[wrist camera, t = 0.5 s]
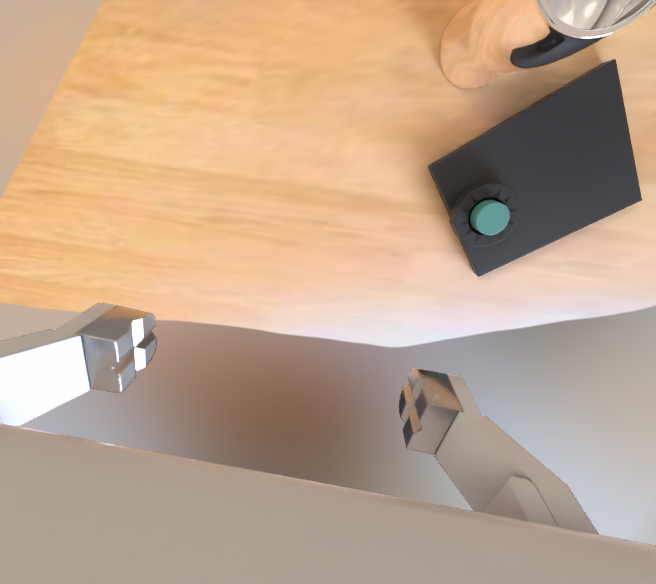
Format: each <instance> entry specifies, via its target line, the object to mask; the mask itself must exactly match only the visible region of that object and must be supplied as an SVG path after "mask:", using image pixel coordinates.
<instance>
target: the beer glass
mask: <svg viewBox="0 0 656 584" xmlns="http://www.w3.org/2000/svg"><path fill="white" fill-rule="evenodd" d="M655 5H656V0H473V1H472V2H470V3H469V4H467V5H466V6H464V7H463V8H462V9H461V10H460V11H458V12H457V13H456V14H455V16H454V17H453V18H452V19H451V21H450V22H449V24H448V26H447V27H446V29H445V32H444V34H443V37H442V41H441V46H440V62H441V67H442V70H443V72H444V74H445V76H446V77H447V79H448V80H449V81H450V82H451V83H452V84H454V85H455V86H457V87H460V88H463V89H476V88H480V87H482V86H485V85H486V84H488V83H490V82H491V81H493V80H494V79H495V78H496V77H497V76H498V75H499V74H500V73H510V72H522V71H527V70H533V69H538V68H541V67H544V66H547V65H550V64H552V63H555V62H558V61H560V60H563V59H565V58H567V57H569V56H571V55H573V54H576V53H578V52H580V51H582V50H583V49H585V48H587V47H589V46H591V45H593V44H595V43H597V42H598V41H600V40H602V39H604V38H605V37H607V36H609V35H611V34H613V33H616V32H618V31H620V30H622V29H624V28H626V27H628V26H629V25H631V24H632V23H634V22H635V21H637V20H638V19H640V18H641V17H642V16H643V15H645V14H646V13H647V12H648V11H649V10H651V9H652V8H653V7H654V6H655Z"/></svg>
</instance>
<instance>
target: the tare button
mask: <svg viewBox="0 0 656 584" xmlns="http://www.w3.org/2000/svg"><path fill="white" fill-rule="evenodd" d="M509 218H510V212H509V210H508V208H507V207H506V205H504V204H502V203H500V202H497V201H494V200H485V201H482V202H480V203H479V204H477V205H476V206H475V207H474V209H473V210H472V212H471V215H470V222H471V225H472V226H473V228H474V229H476V230H477V231H479V232H481V233H482V234H485V235H494V234H497V233H499V232H500V231H502V230H503V229H504V228H505V227H506V226H507V224H508V222H509Z"/></svg>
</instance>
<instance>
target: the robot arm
mask: <svg viewBox="0 0 656 584" xmlns="http://www.w3.org/2000/svg"><path fill="white" fill-rule="evenodd" d="M155 326H156V320H155V316H154V315H153V314H152V313H149V312H144V311H140V310H135V309H131V308H127V307H122V306H117V305H113V304H108V303H97V304H96V305H94V306H92V307H91V308H89V309H88V310H86V311H84V312H83V313H81V314H80V315H78V316H77V317H75V318H73V319H72V320H70V321H69V322H67V323H66V324H64V325H62V326H61V327H59V328H58V329H56V330H51V329H47V330H43V331H39V332H35V333H31V334H27V335H22V336H19V337H14V338H10V339H6V340H2V341H0V584H656V545H652V544H647V543H641V542H635V541H630V540H625V539H619V538H614V537H609V536H604V535H599V533H598V532H597V530H596V529H595V528H594V526H593V524H592V523H591V521H590V519H589V518H588V516H587V515H586V513H585V512H584V510H583V509H582V507H581V505H580V504H579V502H578V501H577V499H576V498H575V496H574V495H573V493H572V492H571V490H570V489H569V487H568V486H567V485H566V484H565V483H564V482H563V481H562V480H560V479H559V478H558V477H557V476H556V475H555V474H554V473H552V472H551V471H550V470H549V469H548V468H546V467H545V466H544V465H543V464H542V463H541V462H539V461H538V460H537V459H536V458H535V457H534V456H532V455H531V454H530V453H529V452H528V451H527V450H525V449H524V448H523V447H522V446H521V445H519V444H518V443H517V442H516V441H515V440H514V439H512V438H511V437H510V436H509V435H508V434H506V433H505V432H504V431H503V430H502V429H501V428H499V427H498V426H497V425H496V424H495V423H494V422H492V421H491V420H490V419H489V418H488V417H485V416H482V415H481V413H480V411H479V409H478V407H477V405H476V403H475V401H474V399H473V397H472V395H471V393H470V391H469V389H468V387H467V385H466V383H465V381H464V379H463V378H462V377H461V376H459V375H453V374H447V373H439V372H434V371H429V370H424V369H419V368H413V369H412V370H411V371H410V373H409V375H408V380H409V384H408V385H407V386H405V387H403V390H402V392H401V395H400V400H399V413H400V417H401V419H402V420H403V421H404V422H405V426H404V428H403V434H404V438H405V443H406V448H407V449H410V450H414V451H418V452H423V453H427V454H432V455H435V456H434V457H435V458H436V460H437V461H438V462H439V464H440V465H441V466H442V468H443V469H444V471H445V472H446V473H447V475H448V476H449V478H450V479H451V480H452V482H453V483H454V484H455V486H456V487H457V488H458V490H459V491H460V493H461V494H462V495H463V497H464V498H465V499H466V501H467V502H468V504H469V505H470V506H471V508H472V509H473V510H474V511H469V510H463V509H459V508H453V507H448V506H442V505H437V504H431V503H426V502H421V501H415V500H410V499H405V498H400V497H394V496H389V495H383V494H378V493H372V492H367V491H362V490H356V489H351V488H346V487H341V486H335V485H330V484H324V483H319V482H314V481H309V480H302V479H297V478H292V477H287V476H281V475H276V474H271V473H266V472H260V471H255V470H249V469H244V468H238V467H233V466H228V465H223V464H217V463H212V462H206V461H201V460H195V459H190V458H185V457H179V456H174V455H169V454H164V453H158V452H153V451H147V450H142V449H137V448H131V447H126V446H120V445H115V444H110V443H104V442H99V441H94V440H88V439H83V438H77V437H71V436H67V435H61V434H56V433H51V432H45V431H40V430H35V429H29V428H24V427H18V426H20V425H22V424H23V423H26V422H28V421H30V420H32V419H34V418H36V417H38V416H40V415H42V414H44V413H46V412H47V411H50V410H52V409H54V408H56V407H57V406H60V405H62V404H64V403H66V402H68V401H69V400H71V399H73V398H75V397H77V396H79V395H81V394H83V393H85V392H87V391H89V390H90V389H96V390H102V391H108V392H115V393H123V391H124V390H125V389H126V388H127V387H128V386H129V385H130V383H132V381H133V380H134V379H135V378H136V371H137V370H139V369H142V368H144V367H146V366H147V365H148V364H149V362H150V361H151V360H152V358H153V355H154V353H155V351H156V345H157V338H156V336H155V335H154V334H153V332H152V331H151V330H152V329H153V328H154V327H155Z"/></svg>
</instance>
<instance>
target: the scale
mask: <svg viewBox="0 0 656 584" xmlns="http://www.w3.org/2000/svg"><path fill="white" fill-rule="evenodd" d="M428 168H429V170H430V173H431V175H432V177H433V180H434V182H435V184H436V186H437V189H438V191H439V193H440V196H441V198H442V200H443V203H444V205H445V207H446V209H447V212H448V214H449V216H450V224H451V226H452V228H453V230H454V233H455V235H456V236H458V237H459V239H460V242H461V244H462V246H463V249H464V251H465V253H466V255H467V258H468V260H469V262H470V265H471V267H472V269H473V271H474V273H475V274H476V275H477V276H478V277H480V276H482V275H484V274H486V273H488V272H490V271H492V270H494V269H497V268H499V267H501V266H503V265H505V264H507V263H509V262H511V261H514V260H516V259H518V258H520V257H522V256H524V255H526V254H528V253H531V252H533V251H535V250H537V249H539V248H541V247H543V246H545V245H548V244H550V243H552V242H554V241H556V240H558V239H560V238H562V237H565V236H567V235H569V234H571V233H573V232H575V231H577V230H579V229H582V228H584V227H586V226H588V225H590V224H592V223H594V222H596V221H599V220H601V219H603V218H605V217H607V216H609V215H611V214H613V213H616V212H618V211H620V210H622V209H624V208H626V207H628V206H630V205H633V204H635V203H637V202H639V201H641V200H642V198H641V193H640V188H639V182H638V177H637V172H636V166H635V161H634V155H633V150H632V145H631V139H630V134H629V129H628V123H627V118H626V113H625V107H624V102H623V97H622V91H621V86H620V80H619V75H618V70H617V64H616V60H615V59H614V60H611V61H608V62H605V63H602V64H600V65H599V66H597V67H595V68H594V69H592V70H590V71H588V72H587V73H585V74H583V75H582V76H580V77H578V78H577V79H575V80H573V81H572V82H570V83H568V84H566V85H565V86H563V87H561V88H560V89H558V90H556V91H555V92H553V93H551V94H549V95H548V96H546V97H544V98H543V99H541V100H539V101H538V102H536V103H534V104H532V105H531V106H529V107H527V108H526V109H524V110H522V111H521V112H519V113H517V114H516V115H514V116H512V117H510V118H509V119H507V120H505V121H504V122H502V123H500V124H499V125H497V126H495V127H493V128H492V129H490V130H488V131H487V132H485V133H483V134H482V135H480V136H478V137H476V138H475V139H473V140H471V141H470V142H468V143H466V144H465V145H463V146H461V147H460V148H458V149H456V150H454V151H453V152H451V153H449V154H448V155H446V156H444V157H443V158H441V159H439V160H437V161H436V162H434V163H432V164H431V165H429V166H428ZM485 200H494V201H497V202H500V203H502V204H504V205H506V207H507V208H508V210H509V212H510V218H509V222H508V224H507V226H506V227H505V228H504V229H503V230H502V231H500V232H499V233H497V234H494V235H485V234H482V233H481V232H479V231H477V230H476V229H474V228H473V226H472V225H471V222H470V215H471V212H472V210H473V209H474V207H475V206H476V205H477V204H479V203H480V202H482V201H485Z"/></svg>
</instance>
